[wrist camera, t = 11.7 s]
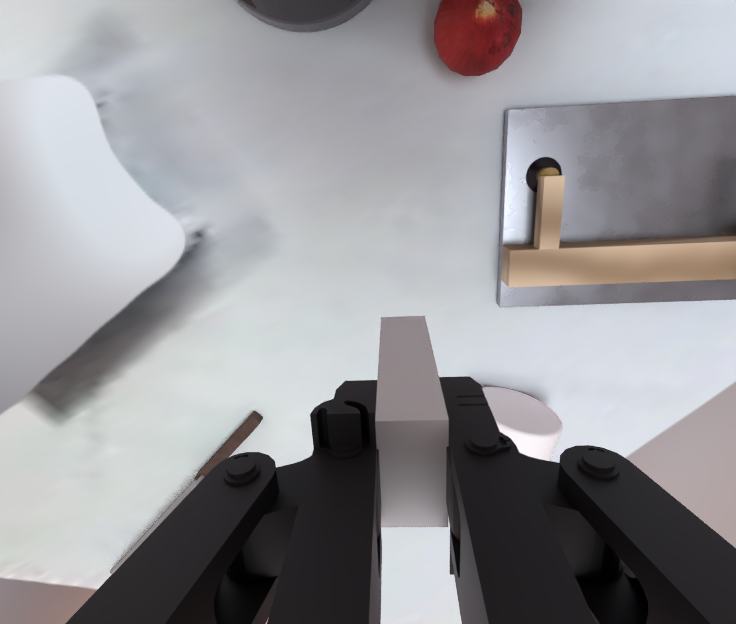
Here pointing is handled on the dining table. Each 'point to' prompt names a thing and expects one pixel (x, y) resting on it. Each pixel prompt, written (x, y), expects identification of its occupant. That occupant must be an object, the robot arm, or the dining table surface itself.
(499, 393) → the mug
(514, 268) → the beam
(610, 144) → the bolt plate
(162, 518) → the kitchen knife
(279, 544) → the robot arm
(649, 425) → the dining table surface
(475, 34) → the onion
